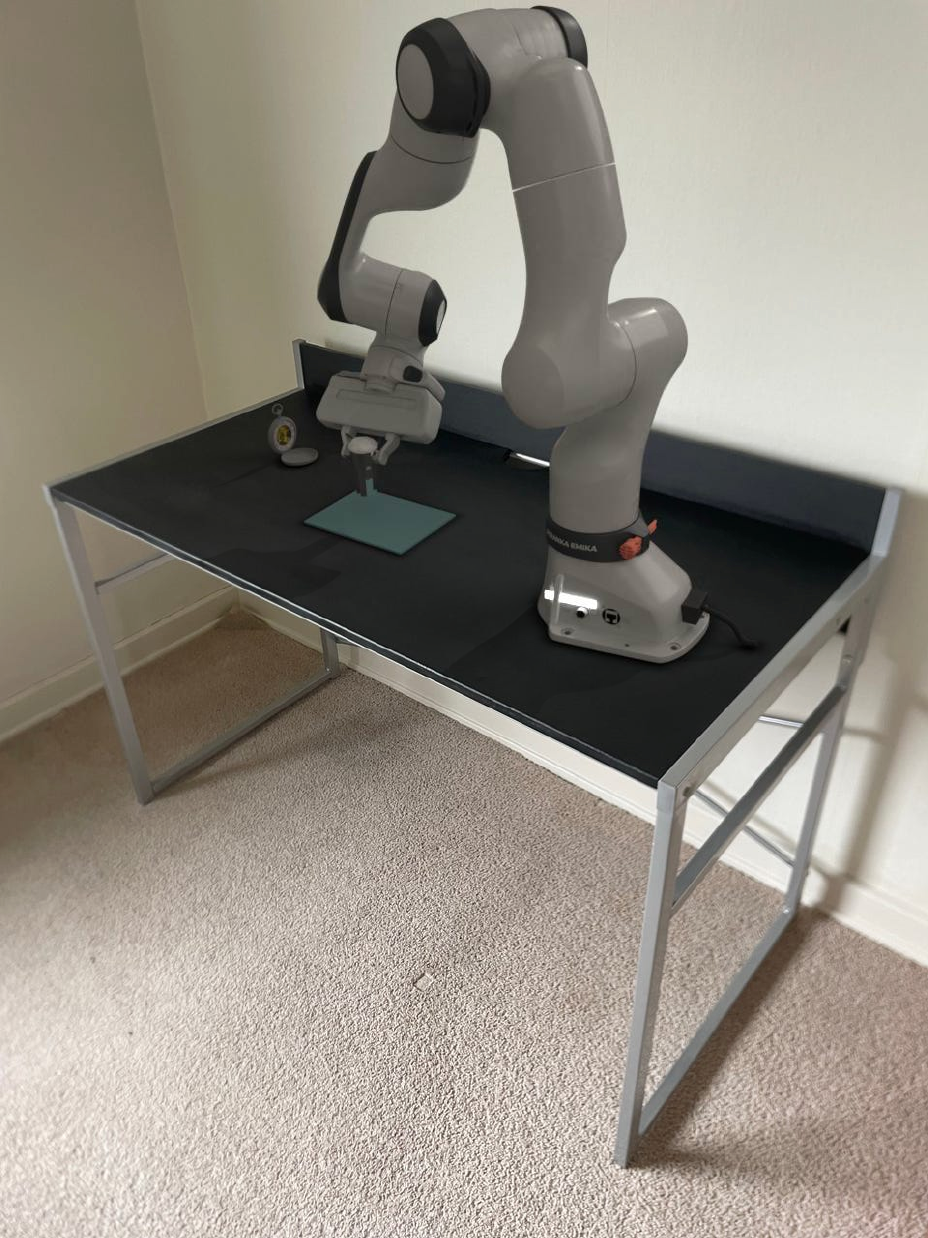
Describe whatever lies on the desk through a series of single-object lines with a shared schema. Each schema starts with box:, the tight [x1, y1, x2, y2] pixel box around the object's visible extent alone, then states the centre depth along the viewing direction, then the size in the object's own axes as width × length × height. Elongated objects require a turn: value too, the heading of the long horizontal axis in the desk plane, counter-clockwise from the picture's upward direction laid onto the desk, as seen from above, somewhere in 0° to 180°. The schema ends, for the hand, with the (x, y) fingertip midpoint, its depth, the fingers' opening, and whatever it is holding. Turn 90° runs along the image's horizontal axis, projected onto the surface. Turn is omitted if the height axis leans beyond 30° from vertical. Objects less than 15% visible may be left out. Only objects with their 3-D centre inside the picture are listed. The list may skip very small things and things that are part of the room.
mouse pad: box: [303, 490, 457, 556], centre depth 147 cm, size 20×14×1 cm
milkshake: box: [348, 435, 382, 497], centre depth 142 cm, size 4×5×10 cm
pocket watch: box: [267, 403, 319, 467], centre depth 166 cm, size 8×8×10 cm
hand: (362, 460), depth 141 cm, fingers closed on milkshake, 4 cm apart
